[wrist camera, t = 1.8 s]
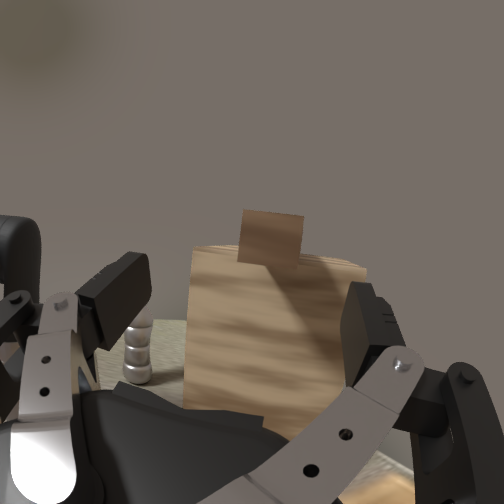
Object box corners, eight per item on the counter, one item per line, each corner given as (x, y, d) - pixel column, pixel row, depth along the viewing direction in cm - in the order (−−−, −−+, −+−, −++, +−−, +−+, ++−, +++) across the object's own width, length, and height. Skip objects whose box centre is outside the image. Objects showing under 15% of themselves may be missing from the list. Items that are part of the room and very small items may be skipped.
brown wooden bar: (297, 270, 19) (303, 216, 18) (237, 261, 19) (243, 209, 19) (299, 253, 46) (302, 231, 46) (275, 250, 47) (277, 228, 47)
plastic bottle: (127, 371, 58) (127, 288, 57) (155, 376, 59) (157, 292, 58) (119, 384, 52) (117, 294, 51) (149, 389, 53) (150, 299, 51)
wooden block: (306, 491, 29) (366, 269, 27) (183, 467, 32) (193, 246, 30) (308, 425, 47) (342, 259, 45) (216, 410, 50) (233, 245, 48)
